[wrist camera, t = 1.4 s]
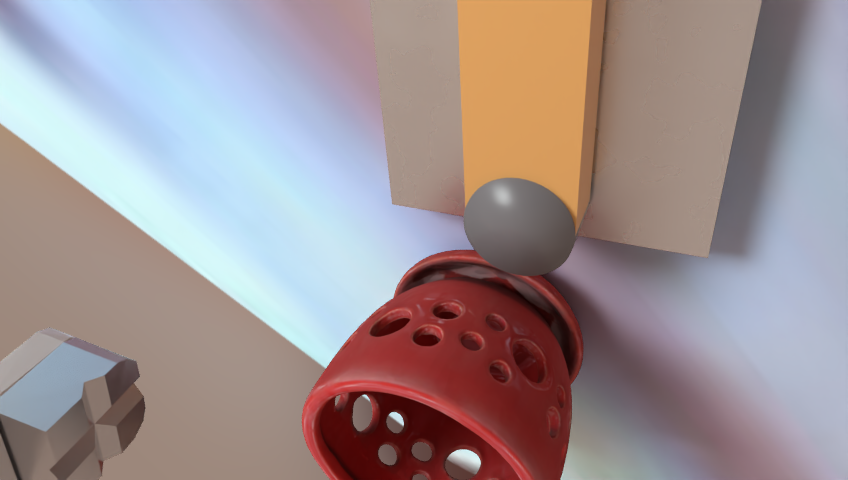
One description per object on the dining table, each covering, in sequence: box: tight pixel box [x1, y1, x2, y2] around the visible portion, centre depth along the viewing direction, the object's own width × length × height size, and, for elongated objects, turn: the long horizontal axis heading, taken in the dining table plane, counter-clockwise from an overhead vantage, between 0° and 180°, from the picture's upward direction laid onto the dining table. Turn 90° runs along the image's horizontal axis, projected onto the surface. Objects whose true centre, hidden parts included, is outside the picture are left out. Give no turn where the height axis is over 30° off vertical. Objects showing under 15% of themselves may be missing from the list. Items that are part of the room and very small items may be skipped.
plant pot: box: [302, 250, 583, 480], centre depth 39 cm, size 13×13×12 cm
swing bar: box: [457, 0, 606, 276], centre depth 29 cm, size 5×16×3 cm, turn 4°
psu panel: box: [370, 0, 762, 258], centre depth 31 cm, size 16×17×2 cm
